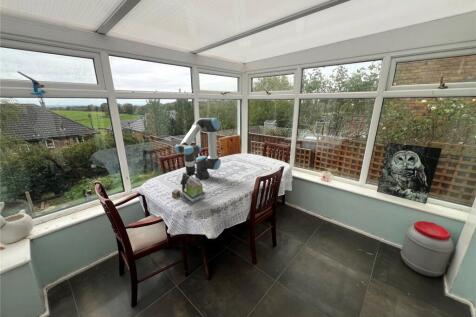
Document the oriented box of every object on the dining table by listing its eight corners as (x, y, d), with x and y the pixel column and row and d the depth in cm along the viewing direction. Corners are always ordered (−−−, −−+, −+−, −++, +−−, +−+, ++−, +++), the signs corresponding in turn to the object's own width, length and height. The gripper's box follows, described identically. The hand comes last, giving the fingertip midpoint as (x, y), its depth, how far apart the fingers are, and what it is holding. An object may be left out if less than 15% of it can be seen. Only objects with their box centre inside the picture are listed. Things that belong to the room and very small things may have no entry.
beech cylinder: (200, 190, 175) (200, 184, 173) (204, 192, 172) (203, 186, 170) (196, 192, 171) (195, 186, 169) (199, 194, 168) (199, 188, 166)
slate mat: (195, 192, 171) (195, 191, 171) (205, 197, 163) (205, 197, 162) (180, 199, 160) (180, 198, 159) (190, 205, 151) (190, 204, 151)
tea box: (201, 197, 161) (203, 183, 155) (192, 202, 154) (193, 188, 147) (190, 189, 169) (191, 175, 162) (181, 193, 161) (182, 179, 155)
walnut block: (175, 194, 168) (175, 189, 167) (180, 195, 167) (179, 190, 165) (172, 196, 164) (171, 191, 162) (176, 197, 162) (176, 192, 161)
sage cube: (184, 193, 169) (184, 189, 168) (186, 195, 166) (186, 191, 165) (180, 195, 167) (180, 191, 165) (182, 196, 164) (181, 192, 163)
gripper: (199, 160, 162) (201, 181, 169) (174, 168, 144) (177, 192, 152) (204, 162, 158) (206, 184, 165) (179, 171, 140) (182, 195, 147)
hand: (192, 188), depth 158 cm, fingers open, 13 cm apart
